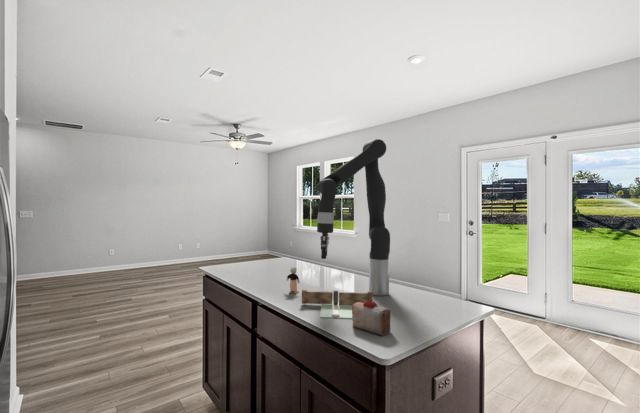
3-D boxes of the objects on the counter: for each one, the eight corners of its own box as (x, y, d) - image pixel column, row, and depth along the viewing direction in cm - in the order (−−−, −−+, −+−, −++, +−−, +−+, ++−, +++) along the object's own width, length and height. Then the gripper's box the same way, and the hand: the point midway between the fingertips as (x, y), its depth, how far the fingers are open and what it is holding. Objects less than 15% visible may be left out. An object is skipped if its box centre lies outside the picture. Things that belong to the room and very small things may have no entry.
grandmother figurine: (301, 292, 157) (302, 266, 157) (298, 294, 153) (299, 267, 153) (287, 290, 160) (287, 265, 159) (284, 292, 156) (284, 266, 156)
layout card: (373, 302, 142) (373, 301, 142) (380, 319, 120) (380, 318, 120) (322, 301, 143) (322, 300, 143) (319, 318, 122) (319, 316, 122)
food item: (348, 327, 113) (348, 299, 113) (360, 321, 119) (361, 295, 119) (381, 338, 104) (382, 308, 104) (393, 331, 110) (393, 302, 110)
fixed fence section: (372, 305, 137) (372, 291, 137) (372, 306, 135) (372, 292, 134) (338, 304, 137) (339, 290, 137) (338, 305, 135) (339, 291, 135)
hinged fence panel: (337, 303, 137) (338, 290, 137) (338, 304, 135) (338, 291, 135) (301, 302, 138) (302, 289, 138) (301, 303, 136) (301, 290, 136)
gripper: (333, 223, 140) (331, 260, 140) (333, 221, 154) (332, 255, 154) (316, 222, 140) (314, 259, 140) (318, 221, 154) (317, 254, 155)
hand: (324, 257), depth 147 cm, fingers open, 8 cm apart
